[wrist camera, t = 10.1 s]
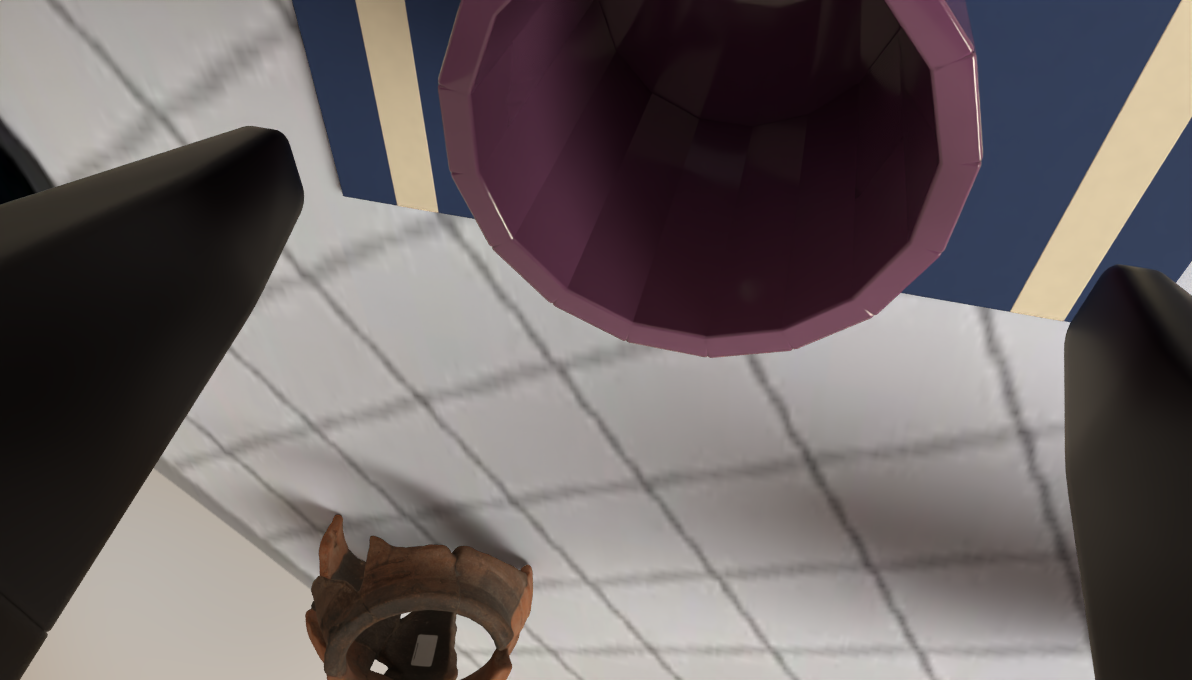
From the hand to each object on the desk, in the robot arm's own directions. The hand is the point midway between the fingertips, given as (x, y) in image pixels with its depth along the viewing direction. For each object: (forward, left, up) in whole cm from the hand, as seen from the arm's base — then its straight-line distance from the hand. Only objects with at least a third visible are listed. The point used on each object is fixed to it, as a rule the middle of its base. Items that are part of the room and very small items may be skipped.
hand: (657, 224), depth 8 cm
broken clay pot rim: (+10, +27, -9) cm, 30 cm away
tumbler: (0, 0, -8) cm, 8 cm away
